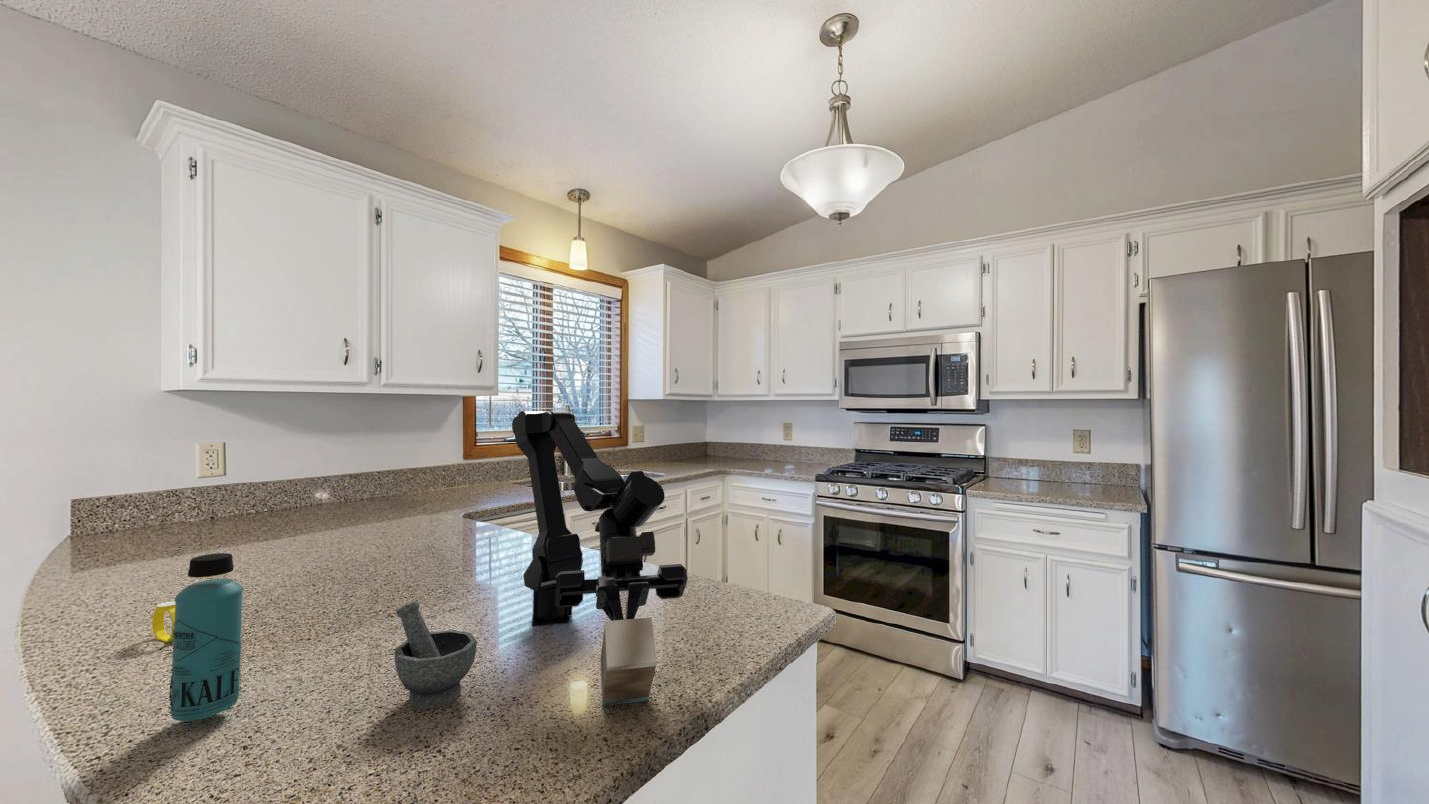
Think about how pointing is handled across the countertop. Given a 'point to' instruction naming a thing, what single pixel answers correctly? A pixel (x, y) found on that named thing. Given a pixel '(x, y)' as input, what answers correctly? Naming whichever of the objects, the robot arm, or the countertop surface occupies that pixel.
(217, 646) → the beverage bottle
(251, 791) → the countertop surface
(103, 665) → the countertop surface
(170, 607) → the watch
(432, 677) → the mortar and pestle
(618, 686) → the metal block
